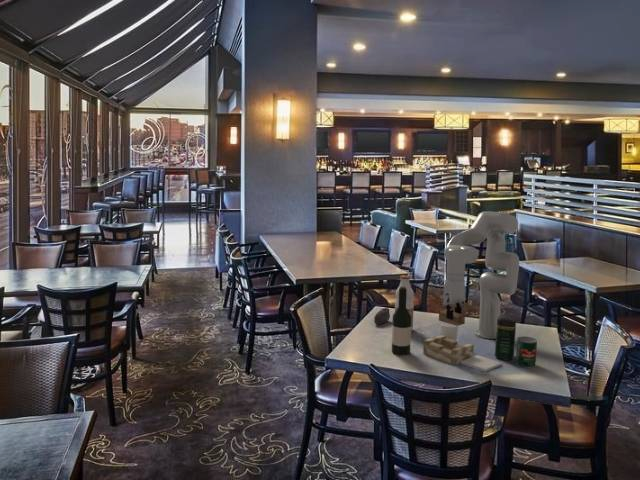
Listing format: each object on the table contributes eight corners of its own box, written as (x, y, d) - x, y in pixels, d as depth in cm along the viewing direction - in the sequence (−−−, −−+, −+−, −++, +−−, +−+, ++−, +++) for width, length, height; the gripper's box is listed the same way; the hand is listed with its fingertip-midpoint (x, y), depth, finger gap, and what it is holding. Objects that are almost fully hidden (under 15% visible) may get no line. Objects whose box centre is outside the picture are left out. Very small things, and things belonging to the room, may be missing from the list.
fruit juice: (415, 332, 270) (417, 277, 266) (397, 332, 268) (399, 278, 264) (409, 326, 279) (411, 274, 275) (391, 327, 277) (393, 274, 273)
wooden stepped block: (441, 347, 247) (442, 334, 246) (472, 358, 234) (473, 344, 233) (423, 353, 239) (423, 340, 238) (454, 364, 225) (455, 350, 225)
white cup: (457, 348, 246) (458, 327, 244) (439, 347, 247) (440, 326, 246) (456, 343, 254) (457, 322, 252) (439, 341, 255) (440, 321, 254)
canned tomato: (525, 368, 222) (527, 343, 220) (511, 362, 229) (513, 337, 227) (539, 366, 225) (541, 341, 223) (525, 360, 232) (527, 335, 231)
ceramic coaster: (477, 357, 235) (477, 355, 235) (501, 365, 226) (501, 363, 225) (460, 363, 227) (460, 361, 227) (485, 371, 218) (485, 369, 218)
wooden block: (445, 318, 239) (446, 309, 238) (464, 323, 231) (465, 314, 230) (438, 320, 236) (439, 311, 235) (457, 325, 228) (457, 316, 227)
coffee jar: (513, 361, 230) (515, 320, 227) (494, 359, 233) (496, 317, 230) (514, 354, 239) (516, 314, 236) (495, 352, 242) (498, 312, 239)
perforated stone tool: (378, 327, 278) (379, 314, 277) (370, 325, 280) (370, 312, 280) (392, 320, 290) (392, 308, 289) (383, 318, 293) (383, 306, 292)
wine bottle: (411, 350, 243) (413, 285, 239) (408, 356, 235) (410, 289, 231) (393, 348, 246) (395, 284, 241) (389, 354, 238) (391, 288, 234)
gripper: (460, 272, 238) (458, 312, 240) (435, 277, 227) (434, 319, 230) (474, 275, 232) (472, 316, 235) (450, 280, 221) (448, 323, 224)
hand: (453, 317), depth 232 cm, fingers closed on wooden block, 5 cm apart
